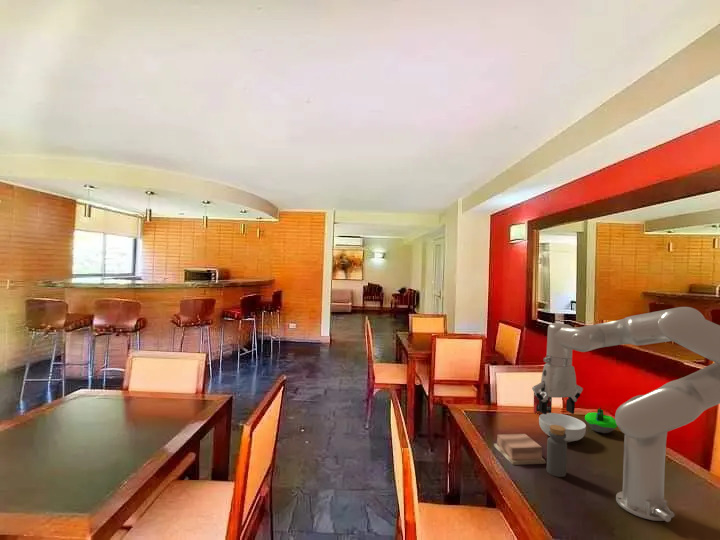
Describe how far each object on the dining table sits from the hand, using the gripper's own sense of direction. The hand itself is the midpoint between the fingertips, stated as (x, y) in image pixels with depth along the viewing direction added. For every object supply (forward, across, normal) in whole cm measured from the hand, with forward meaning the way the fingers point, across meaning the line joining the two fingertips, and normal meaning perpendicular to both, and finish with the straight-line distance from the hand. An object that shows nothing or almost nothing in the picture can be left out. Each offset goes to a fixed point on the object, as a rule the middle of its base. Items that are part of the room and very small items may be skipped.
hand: (556, 412), depth 130 cm
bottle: (+20, 0, -1) cm, 20 cm away
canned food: (+20, +27, +50) cm, 61 cm away
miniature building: (+20, +40, +29) cm, 54 cm away
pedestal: (+20, -6, +12) cm, 24 cm away
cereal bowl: (+20, +19, +24) cm, 37 cm away
